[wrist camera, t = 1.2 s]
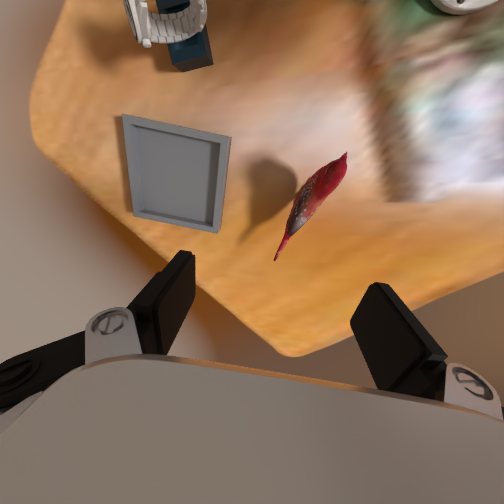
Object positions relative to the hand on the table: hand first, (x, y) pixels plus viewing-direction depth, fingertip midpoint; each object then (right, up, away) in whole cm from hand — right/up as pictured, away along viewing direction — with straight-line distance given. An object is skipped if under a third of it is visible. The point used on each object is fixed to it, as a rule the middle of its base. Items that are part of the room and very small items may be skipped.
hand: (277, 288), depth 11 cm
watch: (-9, +29, +14) cm, 33 cm away
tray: (-13, +14, +22) cm, 30 cm away
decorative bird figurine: (+6, +10, +23) cm, 26 cm away
